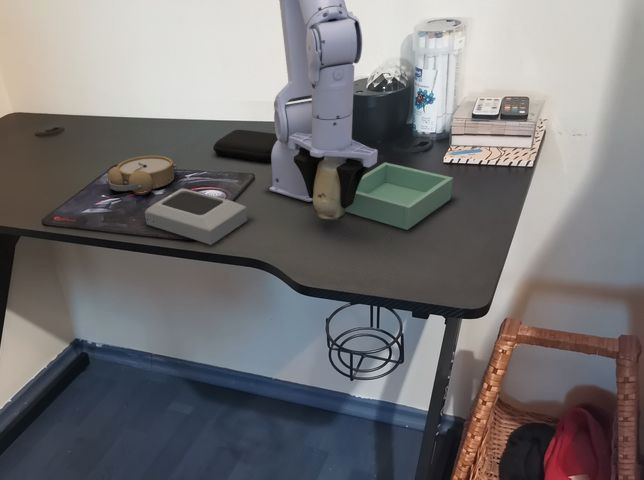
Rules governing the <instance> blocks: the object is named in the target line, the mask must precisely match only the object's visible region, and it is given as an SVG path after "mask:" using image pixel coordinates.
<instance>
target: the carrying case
mask: <svg viewBox="0 0 644 480" xmlns="http://www.w3.org/2000/svg"><path fill="white" fill-rule="evenodd" d="M277 140H278V139H277V136H276V133H273V132H265V131H257V130H248V129H234V130H232V131H231V132H229V133H227V134H226V135H224V136H223V137H221V138H220V139H217V141H215V143H214V144H213V151H214V152H215V153H216V154H217V155H219V156H225V157H230V158H235V159H243V160H248V161H249V160H250V161H257V162H264V163H268V162H271V155H272V150H273V147H274V145H275V143H276V142H277Z"/></svg>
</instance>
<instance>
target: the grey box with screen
mask: <svg viewBox="0 0 644 480" xmlns="http://www.w3.org/2000/svg"><path fill="white" fill-rule="evenodd" d="M247 211H248V210H247V206H246V205H243V204H241V203H238V202H235V201H233V200H230V199H226V198H222V197H218V196H215V195H211V194H207V193H204V192H203V193H202V192H199V191H195V190H191V189H188V188H184V187H181V188H179V189H177V190H176V191H174V192H172V193H171V194H169V195H167V196H166V197H163V198H162V199H160V200H159V201H157V202H155V203H154V204H151V206H149V207H148V208H146V210H145V211H144V218H145V224H146V225H148V226H151V227H154V228H158V229H161V230H163V231H166V232H168V233H169V232H170V233H173V234H176V235H178V236H182V237H185V238H189V239H192V240H194V241H196V242H197V241H198V242H201V243H204V244H207V245H209V246H212V245H213V244H215V243H216V242H218V241H219V240H220V239H222V238H224V237H225V236H226V235H228V234H230V233H231V232H232V231H234V230H235V229H237V228H238V227H240V226H242V225H243V224H244V223H246V222H247V221H248V212H247ZM147 219H148V220H147ZM153 221H154V222H153Z"/></svg>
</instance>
